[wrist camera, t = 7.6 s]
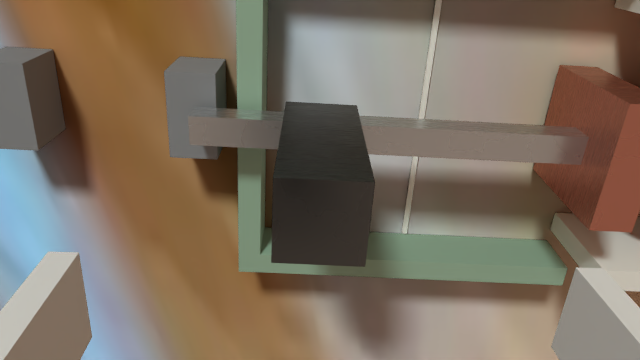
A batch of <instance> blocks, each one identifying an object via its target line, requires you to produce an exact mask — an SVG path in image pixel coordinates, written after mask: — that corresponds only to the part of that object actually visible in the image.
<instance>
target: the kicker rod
mask: <svg viewBox="0 0 640 360" xmlns="http://www.w3.org/2000/svg"><path fill="white" fill-rule="evenodd" d="M188 124H189V143H190V145H200V146H219V147H239V148H258V149H278V152H277V157H276V163H275V169H274V175H273V204H272V249H271V263H286V264H309V265H332V266H355V267H365V265H366V256H367V248H368V239H369V230H370V222H371V213H372V204H373V195H374V187H375V180H374V176H373V172H372V168H371V164H370V159H369V155H368V154H376V155H396V156H415V157H435V158H455V159H474V160H494V161H513V162H533V163H535V164H534V168H533V169H534V171H535V172H536V173H537V174H538V175H539V176H540V177H541V178H542V179H543V180H544V182H545V183H546V184H547V185H548V186H549V187H550V188H551V189H552V190H553V191H554V193H555V194H556V195H557V196H558V197H559V198H560V199H561V200H562V201H563V202H564V203H565V205H566V206H567V207H568V208H569V209H570V210H571V211H572V212H573V213H574V214H575V216H576V217H577V218H578V219H579V220H580V221H581V222H582V223H583V224H584V225H585V227H586V228H587V229H588V230H591V231H613V232H632V231H633V228H634V225H635V222H636V220H637V217H638V214H639V211H640V88H639V87H637V86H635V85H633V84H631V83H629V82H627V81H624V80H622V79H620V78H618V77H616V76H614V75H612V74H610V73H608V72H606V71H604V70H602V69H600V68H598V67H585V66H568V65H560V66H559V70H558V74H557V78H556V82H555V86H554V90H553V94H552V97H551V101H550V105H549V109H548V113H547V117H546V121H545V125H526V124H507V123H488V122H469V121H451V120H432V119H413V118H394V117H376V116H359V113H358V109H357V105H338V104H320V103H301V102H286V104H285V110H284V112H282V111H263V110H244V109H226V108H207V107H194V108H193V110H192V111H191V113H190V114H189V116H188Z"/></svg>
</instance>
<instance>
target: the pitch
mask: <svg viewBox="0 0 640 360" xmlns="http://www.w3.org/2000/svg"><path fill="white" fill-rule="evenodd" d="M441 4H442V0H435V7H434V13H433V20H432V27H431V34H430V41H429V48H428V55H427V61H426V68H425V75H424V82H423V89H422V96H421V102H420V109H419V116H418V119H424V117H425V110H426V103H427V97H428V90H429V84H430V77H431V70H432V64H433V57H434V50H435V44H436V37H437V31H438V24H439V17H440V11H441ZM236 34H237V109H244V110H263V111H266V110H267V43H268V0H236ZM164 77H165V91H166V105H167V119H168V134H169V148H170V157H178V158H198V159H218V157H219V155H220V153H221V150H222V148H223V147H219V146H200V145H190V143H189V124H188V116H189V114H190V113H191V111H192V110H193V108H194V107H207V108H226V109H227V107H226V59H213V58H195V57H179V58H178V59H177V60H176V61H175V62H174V63H173V64H172V65H170V66H169V67H168V68H167V69H166V70H165V71H164ZM65 129H66V128H65V122H64V115H63V109H62V103H61V97H60V90H59V84H58V78H57V71H56V65H55V59H54V53H53V49H35V48H18V47H5V48H2V49H0V149H19V150H40V149H41V148H42V147H43V146H45V145H46V144H47V143H48V142H50V141H51V140H52V139H53V138H55V137H56V136H57V135H58V134H60V133H61V132H62V131H63V130H65ZM417 163H418V157H415V156H413V157H412V164H411V171H410V178H409V185H408V192H407V198H406V205H405V212H404V219H403V226H402V234H399V233H377V232H369V239H368V248H367V256H366V265H365V267H355V266H332V265H309V264H286V263H271V249H272V228H268V227H265V176H266V149H258V148H239V147H238V235H239V271H242V272H265V273H288V274H312V275H335V276H358V277H381V278H404V279H427V280H450V281H473V282H496V283H519V284H542V285H562V284H563V281H564V278H565V275H566V272H567V269H568V268H567V267H566V266H565V264H564V263H563V262H562V260H561V259H560V257H559V256H558V255H557V253H556V252H555V251H554V249H553V248H552V247H551V245H550V244H549V243H548V241H547V240H529V239H507V238H485V237H464V236H442V235H420V234H407V229H408V222H409V216H410V209H411V203H412V196H413V189H414V183H415V176H416V170H417Z"/></svg>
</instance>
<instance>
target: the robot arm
mask: <svg viewBox="0 0 640 360" xmlns="http://www.w3.org/2000/svg"><path fill="white" fill-rule="evenodd" d="M91 338H92V333H91V327H90V320H89V314H88V308H87V301H86V295H85V289H84V282H83V276H82V270H81V263H80V257H79V253H75V252H48V253H47V254H46V255H45V256H44V257H43V259H42V260H41V261H40V262H39V264H38V265H37V266H36V267H35V269H34V270H33V271H32V272H31V274H30V275H29V276H28V277H27V279H26V280H25V281H24V282H23V284H22V285H21V286H20V287H19V289H18V290H17V291H16V292H15V294H14V295H13V296H12V297H11V299H10V300H9V301H8V302H7V304H6V305H5V306H4V307H3V309H2V310H1V311H0V360H80V359H81V357H82V355H83V353H84V351H85V349H86V348H87V346H88V344H89V342H90V340H91ZM551 347H552V349H553V350H554V352H555V353H556V355H557V357H558V358H559V360H640V308H639V307H638V305H637V304H636V303H635V302H634V301H633V300H632V299H631V298H630V297H629V296H628V295H627V293H626V292H625V291H624V290H623V289H622V288H621V287H620V286H619V285H618V284H617V283H616V281H615V280H614V279H613V278H612V277H611V276H610V275H609V274H608V273H607V272H606V271H605V270H604V268H577V267H576V269H575V272H574V275H573V278H572V282H571V285H570V288H569V291H568V295H567V298H566V301H565V304H564V307H563V311H562V314H561V317H560V320H559V323H558V327H557V330H556V333H555V336H554V339H553V343H552V346H551Z"/></svg>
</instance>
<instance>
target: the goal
mask: <svg viewBox="0 0 640 360" xmlns="http://www.w3.org/2000/svg"><path fill="white" fill-rule="evenodd" d="M614 7H615V8H619V9H623V10H627V11H631V12H635V13H638V14H640V0H616V3H615V6H614ZM550 230H551V231H552V233H553V234H554V235H555V236H556V238H557V239H558V240H559V241H560V243H561V244H562V245H563V247H564V248H565V249H566V250H567V252H568V253H569V254H570V255H571V257H572V258H573V259H574V261H575V262H576V263H577V264H578V266H579V267H580V268H604V270H605V271H606V272H607V273H608V274H609V275H610V276H611V277H612V278H613V279H614V280H615V281H616V283H617V284H618V285H619V286H620V287H621V288H622V289H623V290H624V291H638V292H640V217H637V220H636V222H635V225H634V228H633V231H632V232H613V231H591V230H588V229H587V228H586V227H585V225H584V224H583V223H582V222H581V221H580V220H579V219H578V218H577V217H576V216H575V214H572V213H555V215H554V218H553V222H552V225H551V229H550Z"/></svg>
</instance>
